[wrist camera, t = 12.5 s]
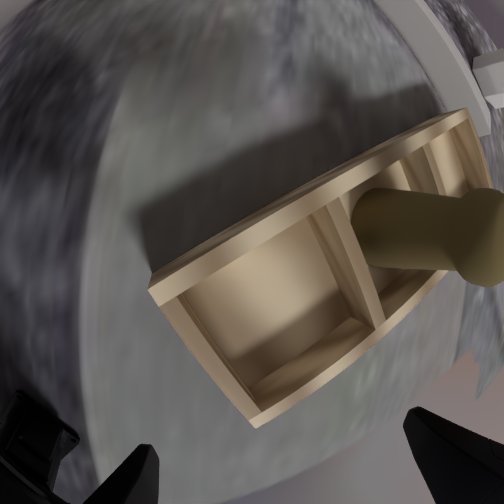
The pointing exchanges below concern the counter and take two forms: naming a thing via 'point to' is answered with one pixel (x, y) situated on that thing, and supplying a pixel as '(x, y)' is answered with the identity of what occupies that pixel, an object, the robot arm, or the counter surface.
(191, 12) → the counter surface
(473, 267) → the olive pepper mill
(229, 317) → the spice rack
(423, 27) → the decorative molding
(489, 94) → the jar
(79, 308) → the counter surface
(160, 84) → the counter surface
